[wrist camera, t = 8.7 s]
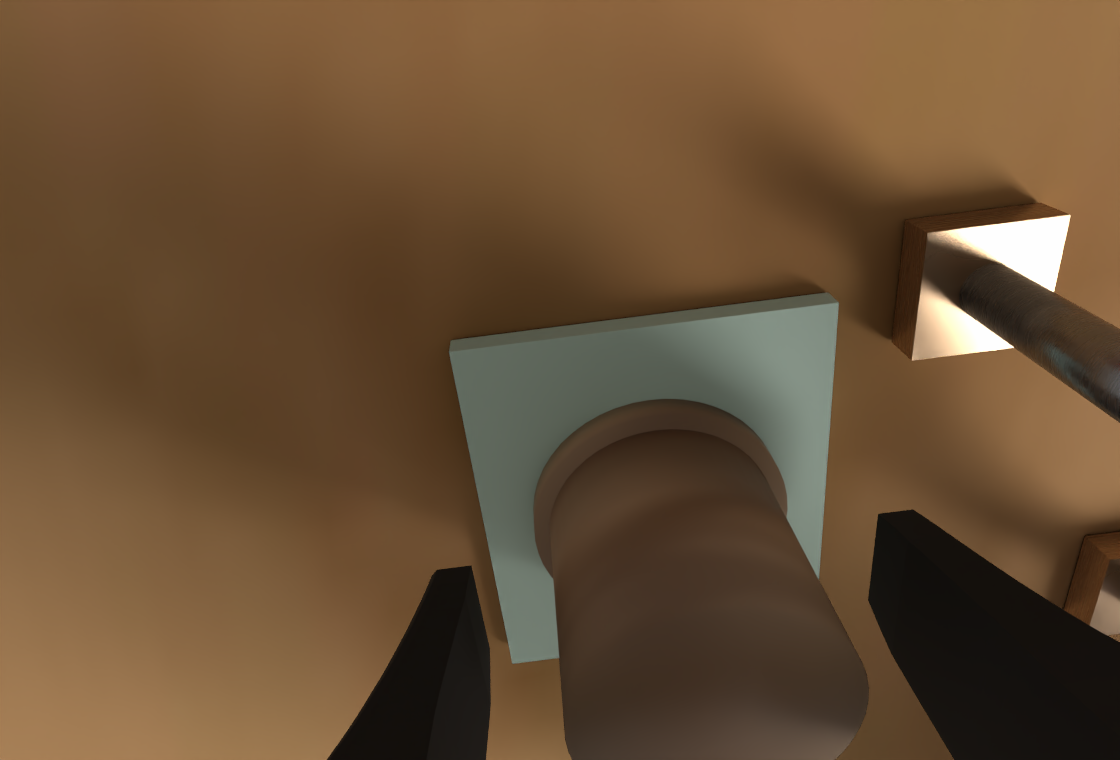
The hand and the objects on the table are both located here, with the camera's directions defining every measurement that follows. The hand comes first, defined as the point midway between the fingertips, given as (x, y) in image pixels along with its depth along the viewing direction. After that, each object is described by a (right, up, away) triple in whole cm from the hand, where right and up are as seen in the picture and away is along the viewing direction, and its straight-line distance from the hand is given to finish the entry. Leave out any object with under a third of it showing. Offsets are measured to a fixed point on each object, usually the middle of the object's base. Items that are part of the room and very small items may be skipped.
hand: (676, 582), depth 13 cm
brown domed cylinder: (0, +1, +2) cm, 2 cm away
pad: (0, +1, +2) cm, 3 cm away
